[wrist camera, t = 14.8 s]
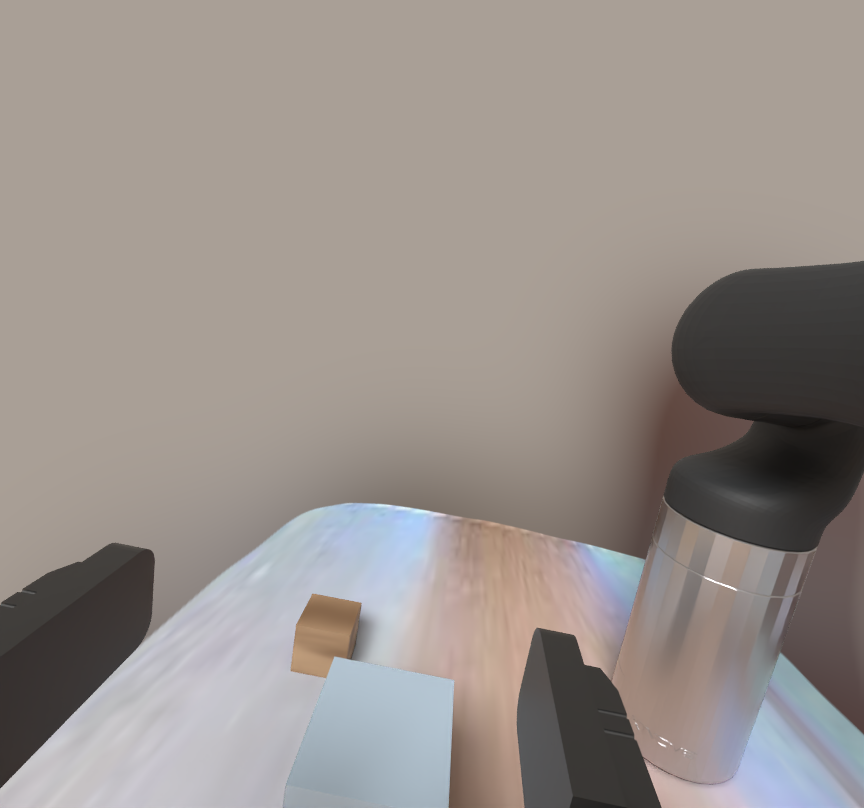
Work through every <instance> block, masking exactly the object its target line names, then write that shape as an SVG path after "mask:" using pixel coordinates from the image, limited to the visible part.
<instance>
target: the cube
mask: <svg viewBox="0 0 864 808" xmlns="http://www.w3.org/2000/svg"><path fill="white" fill-rule="evenodd" d="M361 604H362V603H359V602H354V601H349V600H343V599H338V598H333V597H328V596H323V595H317V594H312V596H311V598H310V600H309V602H308V604H307V605H306V607H305V609H304V611H303V613H302V615H301V617H300V619H299V621H298V623H297V624H296V631H295V639H294V647H293V655H292V664H291V671H293V672H298V673H303V674H308V675H313V676H319V677H324V678H327V675H328V672H329V670H330V667H331V664H332V662H333V659H334V657H339V658H344V659H350V660H351V657H352V654H353V650H354V647H355V643H356V637H357V630H358V623H359V617H360V610H361Z"/></svg>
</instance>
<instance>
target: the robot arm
mask: <svg viewBox="0 0 864 808" xmlns="http://www.w3.org/2000/svg"><path fill="white" fill-rule="evenodd" d="M672 363H673V367H674V371H675V374H676V376H677V378H678V381H679V383H680V385H681V386H682V388H683V389H684V390H685V392H686V393H687V395H689V396H690V397H691V398H692V399H693V400H694V401H695V402H696V403H698V404H699V405H701V406H702V407H704V408H706V409H707V410H710V411H712V412H715V413H718V414H721V415H724V416H729V417H734V418H740V419H746V420H752V421H754V422H753V424H752V426H751V428H750V429H749V431H748V432H747V433H746V434H745V435H744V436H743V437H742V438H740V439H739V440H737V441H735V442H733V443H731V444H730V445H727V446H725V447H723V448H720V449H717V450H714V451H710V452H706V453H701V454H696V455H692V456H688V457H685V458H683V459H681V460H679V461H678V462H677V463H676V464H675V465H674V466H673V468H672V470H671V472H670V475H669V478H668V481H667V485H666V489H665V492H664V497H663V499H662V503H661V507H660V510H659V514H658V518H657V521H656V524H655V528H654V532H653V536H652V540H651V543H650V547H649V550H648V554H647V557H646V561H645V565H644V568H643V572H642V575H641V579H640V583H639V586H638V590H637V593H636V597H635V600H634V604H633V608H632V611H631V615H630V618H629V622H628V625H627V629H626V633H625V636H624V640H623V643H622V647H621V650H620V653H619V657H618V660H617V664H616V668H615V671H614V675H613V678H612V682H611V681H610V680H609V679H608V677H607V676H606V675H605V674H604V672H603V671H602V670H601V669H600V668H597V667H592V666H587V665H584V663H583V659H582V656H581V653H580V649H579V646H578V643H577V640H576V637H575V636H574V635H571V634H566V633H561V632H556V631H551V630H546V629H541V628H536V630H535V632H534V634H533V638H532V642H531V646H530V650H529V655H528V659H527V663H526V667H525V672H524V676H523V680H522V684H521V689H520V693H519V699H518V707H517V734H518V744H519V754H520V764H521V774H522V785H523V795H524V805H525V808H661V805H660V802H659V800H658V797H657V794H656V792H655V789H654V786H653V783H652V781H651V778H650V775H649V773H648V770H647V767H646V764H645V762H644V759H643V757H644V758H646V759H647V760H648V761H650V762H651V763H652V764H654V765H656V766H657V767H659V768H661V769H663V770H664V771H666V772H668V773H670V774H672V775H675V776H677V777H680V778H682V779H685V780H689V781H692V782H696V783H703V784H716V783H722V782H725V781H727V780H729V779H731V778H732V777H733V776H734V774H735V773H736V772H737V770H738V767H739V765H740V762H741V759H742V756H743V753H744V751H745V748H746V745H747V742H748V740H749V737H750V734H751V731H752V728H753V726H754V724H755V721H756V718H757V715H758V712H759V710H760V707H761V704H762V701H763V698H764V696H765V693H766V690H767V687H768V684H769V682H770V679H771V676H772V673H773V670H774V668H775V665H776V662H777V659H778V656H779V654H780V651H781V648H782V645H783V642H784V639H785V637H786V634H787V631H788V628H789V625H790V623H791V620H792V617H793V614H794V612H795V609H796V606H797V603H798V600H799V598H800V595H801V592H802V588H803V585H804V582H805V580H806V577H807V574H808V571H809V569H810V566H811V563H812V560H813V557H814V555H815V552H816V549H817V546H818V544H819V541H820V538H821V536H822V534H823V531H824V529H825V528H826V526H827V525H828V524H829V523H830V522H831V521H832V520H833V519H834V518H835V517H836V516H838V515H839V514H840V513H841V512H842V511H843V510H844V508H845V507H846V506H847V504H848V503H849V502H850V500H851V498H852V497H853V495H854V493H855V491H856V489H857V487H858V485H859V482H860V480H861V477H862V475H863V473H864V261H860V262H852V263H843V264H830V265H815V266H801V267H786V268H764V269H749V270H743V271H739V272H735V273H733V274H730V275H728V276H726V277H723V278H721V279H720V280H718V281H716V282H715V283H713V284H712V285H710V286H709V287H707V288H706V289H705V290H704V291H702V292H701V293H700V294H699V295H698V296H697V297H696V299H695V300H694V301H693V302H692V303H691V304H690V305H689V306H688V308H687V309H686V310H685V312H684V314H683V315H682V317H681V319H680V321H679V323H678V325H677V327H676V330H675V333H674V337H673V342H672ZM154 564H155V559H154V554H153V552H152V551H151V550H149V549H144V548H139V547H134V546H129V545H124V544H119V543H111V544H109V545H108V546H106V547H104V548H103V549H101V550H100V551H98V552H97V553H95V554H94V555H92V556H91V557H89V558H87V559H86V560H85V561H83V562H76V563H74V564H71V565H68V566H66V567H63V568H60V569H57V570H55V571H52V572H50V573H47V574H45V575H44V576H42V577H41V578H39V579H38V580H36V581H34V582H33V583H31V584H30V585H28V586H27V587H25V588H23V590H22V592H21V593H20V592H17V593H16V594H14V595H12V596H11V597H9V598H8V599H6V600H5V601H3V602H2V603H1V605H0V788H1V787H2V786H3V785H4V784H5V783H6V782H7V781H8V780H9V779H10V778H11V777H12V776H13V775H14V774H15V773H16V772H17V771H18V770H19V769H20V768H21V767H22V766H23V765H24V764H25V763H26V761H27V760H28V759H29V758H30V757H31V756H32V755H33V754H34V753H35V752H36V751H37V750H38V749H39V748H40V747H41V746H42V745H43V744H44V743H45V742H46V741H47V740H48V739H49V738H50V737H51V736H52V735H53V734H54V733H55V732H56V731H57V730H58V729H59V728H60V727H61V726H62V725H63V724H64V723H65V721H66V720H67V719H68V718H69V717H70V716H71V715H72V714H73V713H74V712H75V711H76V710H77V709H78V708H79V707H80V706H81V705H82V704H83V703H84V702H85V701H86V700H87V699H88V698H89V697H90V696H91V695H92V694H93V693H94V692H95V691H96V690H97V689H98V688H99V687H100V686H101V685H102V684H103V683H104V682H105V680H106V679H107V678H108V677H109V676H110V675H111V674H112V673H113V672H114V671H115V670H116V669H117V668H118V667H119V666H120V665H121V664H122V663H123V662H124V661H125V660H126V659H127V658H128V657H129V656H130V655H131V654H132V653H133V652H134V651H135V650H136V649H137V647H138V646H139V645H140V644H141V642H142V640H143V639H144V637H145V635H146V632H147V630H148V628H149V625H150V622H151V615H152V601H153V583H154Z"/></svg>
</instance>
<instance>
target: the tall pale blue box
mask: <svg viewBox="0 0 864 808" xmlns="http://www.w3.org/2000/svg"><path fill="white" fill-rule="evenodd" d="M453 695H454V680H451V679H446V678H441V677H436V676H431V675H425V674H420V673H415V672H410V671H405V670H400V669H395V668H390V667H385V666H380V665H375V664H370V663H365V662H360V661H355V660H350V659H344V658H339V657H334V659H333V662H332V664H331V667H330V670H329V672H328V675H327V678H326V680H325V683H324V685H323V688H322V691H321V693H320V696H319V699H318V701H317V704H316V706H315V709H314V712H313V714H312V717H311V720H310V722H309V725H308V727H307V730H306V733H305V735H304V738H303V741H302V743H301V746H300V748H299V751H298V754H297V756H296V759H295V762H294V764H293V767H292V770H291V772H290V775H289V777H288V780H287V783H286V787H285V795H284V803H283V808H449V786H450V763H451V740H452V717H453Z"/></svg>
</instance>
